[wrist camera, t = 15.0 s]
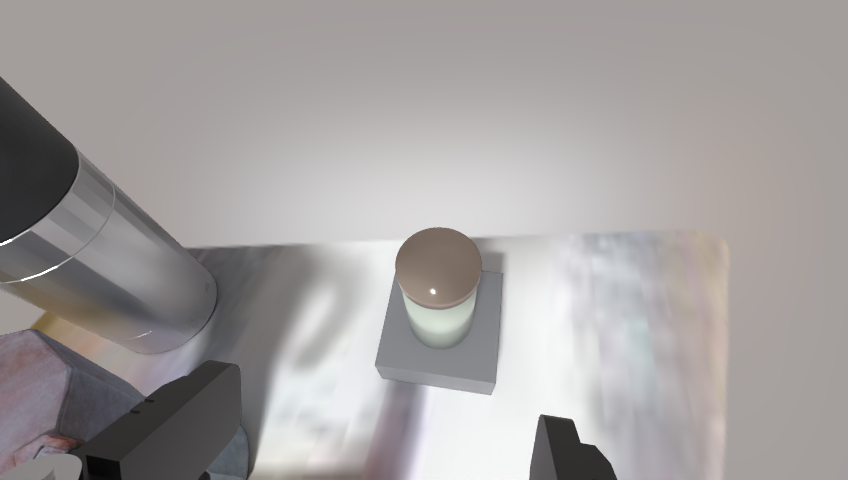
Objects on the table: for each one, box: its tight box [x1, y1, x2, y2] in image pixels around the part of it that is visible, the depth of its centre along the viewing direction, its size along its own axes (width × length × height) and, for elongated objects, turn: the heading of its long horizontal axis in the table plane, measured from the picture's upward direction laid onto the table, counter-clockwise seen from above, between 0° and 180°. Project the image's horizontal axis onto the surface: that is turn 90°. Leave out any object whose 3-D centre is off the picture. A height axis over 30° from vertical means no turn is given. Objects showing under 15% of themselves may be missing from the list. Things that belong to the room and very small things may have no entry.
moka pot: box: [0, 329, 249, 480], centre depth 23 cm, size 10×15×20 cm, turn 85°
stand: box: [375, 271, 503, 395], centre depth 34 cm, size 9×9×4 cm
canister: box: [395, 227, 482, 350], centre depth 28 cm, size 5×5×9 cm
